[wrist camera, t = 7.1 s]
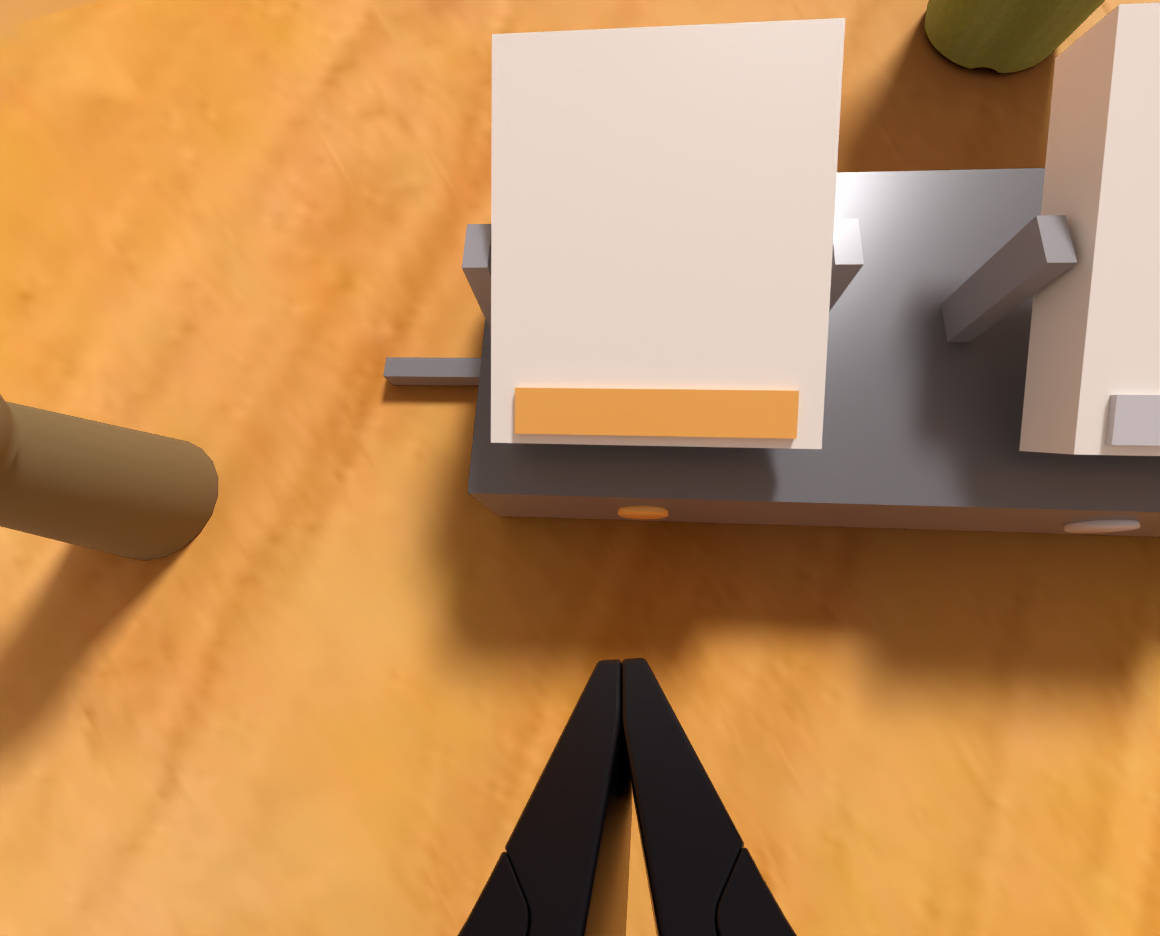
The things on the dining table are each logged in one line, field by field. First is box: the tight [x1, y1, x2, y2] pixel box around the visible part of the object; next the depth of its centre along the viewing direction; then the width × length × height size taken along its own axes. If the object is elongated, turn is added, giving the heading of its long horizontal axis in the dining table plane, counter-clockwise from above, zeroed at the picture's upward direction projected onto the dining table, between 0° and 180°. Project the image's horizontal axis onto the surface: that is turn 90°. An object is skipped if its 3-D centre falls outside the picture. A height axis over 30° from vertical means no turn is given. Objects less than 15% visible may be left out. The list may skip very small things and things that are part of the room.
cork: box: [0, 395, 218, 561], centre depth 19 cm, size 6×6×11 cm
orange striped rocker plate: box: [491, 18, 845, 449], centre depth 16 cm, size 12×10×2 cm
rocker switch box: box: [384, 168, 1160, 537], centre depth 20 cm, size 14×36×10 cm, turn 87°
